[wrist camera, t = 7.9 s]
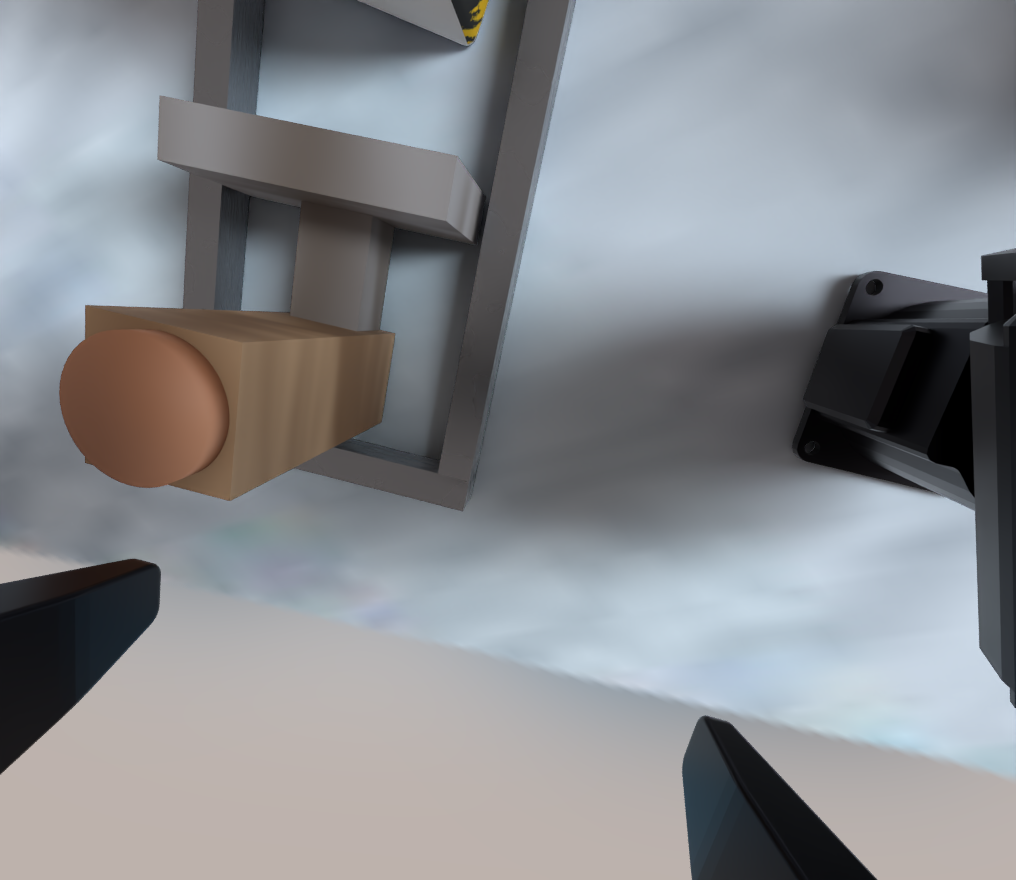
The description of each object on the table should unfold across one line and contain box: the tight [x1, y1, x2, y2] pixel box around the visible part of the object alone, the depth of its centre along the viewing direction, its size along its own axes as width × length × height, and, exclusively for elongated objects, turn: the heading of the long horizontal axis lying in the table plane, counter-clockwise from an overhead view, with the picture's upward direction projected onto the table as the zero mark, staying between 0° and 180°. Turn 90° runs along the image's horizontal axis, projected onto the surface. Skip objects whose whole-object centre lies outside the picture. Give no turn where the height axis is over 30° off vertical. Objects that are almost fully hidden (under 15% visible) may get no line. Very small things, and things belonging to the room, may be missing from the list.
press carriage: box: [59, 96, 486, 501], centre depth 14 cm, size 8×9×10 cm
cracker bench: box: [183, 0, 576, 511], centre depth 14 cm, size 12×26×7 cm, turn 168°
